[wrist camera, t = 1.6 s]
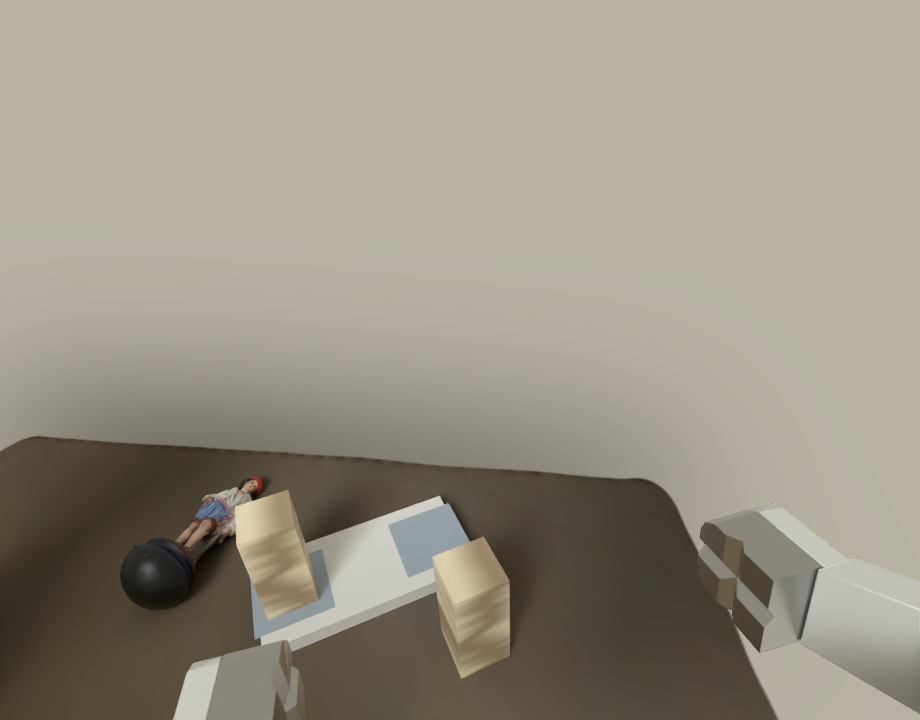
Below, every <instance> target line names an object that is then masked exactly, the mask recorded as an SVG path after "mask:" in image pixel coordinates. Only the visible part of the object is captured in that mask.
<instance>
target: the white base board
mask: <svg viewBox="0 0 920 720" xmlns="http://www.w3.org/2000/svg"><path fill="white" fill-rule="evenodd" d="M468 542H470V541H469V539H468V537H467V536H466V534H465V532H464V530H463V528H462V527H461V525H460V523H459V521H458V519H457V517H456V516H455V514H454V512H453V510H452V508H451V507H450V505H449V503H447V504H445V505H444V503H443V501H442V499H441V498H440V496H438V497H435V498H432V499H429V500H426V501H424V502H421V503H418V504H415V505H412V506H409V507H407V508H404V509H401V510H398V511H395V512H393V513H390V514H387V515H384V516H381V517H378V518H376V519H373V520H370V521H367V522H364V523H361V524H359V525H356V526H353V527H350V528H347V529H345V530H342V531H339V532H336V533H333V534H330V535H328V536H325V537H322V538H319V539H316V540H313V541H311V542H308V543H305V544H306V547H307V550H308V554H309V557H310V560H311V563H312V568H313V573H314V578H315V583H316V588H317V593H318V598H319V601H317V602H314V603H312V604H309V605H307V606H304V607H302V608H299V609H296V610H294V611H291V612H289V613H286V614H284V615H281V616H279V617H276V618H274V619H271V620H268V619H267V616H266V614H265V612H264V609H263V607H262V605H261V602H260V600H259V597H258V595H257V593H256V590H255V588H254V586H253V583H252V581H251V579H250V581H251V595H252V610H253V624H254V639H258V638H260V637H261V645H265V644H269V643H273V642H277V641H281V640H287V641H288V643H289V646H290V648H291V650H292V652H293V651H295V650H298V649H300V648H303V647H305V646H307V645H310V644H312V643H314V642H317V641H319V640H322V639H324V638H326V637H329V636H331V635H334V634H336V633H338V632H341V631H343V630H346V629H348V628H350V627H353V626H355V625H358V624H360V623H362V622H365V621H367V620H370V619H372V618H374V617H377V616H379V615H382V614H384V613H386V612H389V611H391V610H394V609H396V608H398V607H401V606H403V605H406V604H408V603H410V602H413V601H415V600H417V599H420V598H422V597H425V596H427V595H429V594H432V593H434V592H437V591H436V583H435V575H434V567H433V559H432V557H433V556H435V555H438V554H440V553H443V552H446V551H448V550H451V549H453V548H456V547H458V546H461V545H463V544H466V543H468Z"/></svg>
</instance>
